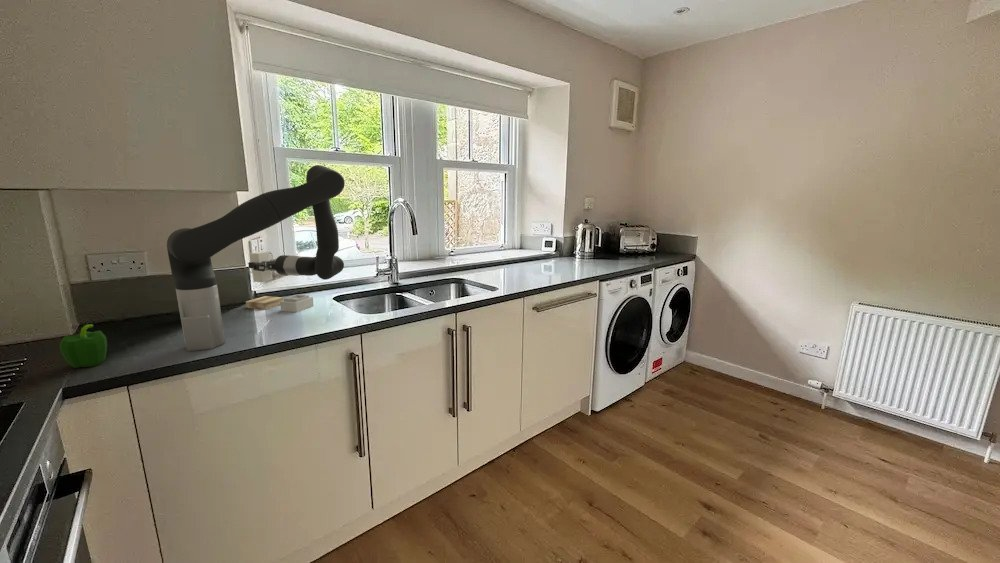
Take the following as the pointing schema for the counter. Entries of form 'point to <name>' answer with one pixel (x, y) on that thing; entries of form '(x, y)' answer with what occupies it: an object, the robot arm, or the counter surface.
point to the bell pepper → (84, 348)
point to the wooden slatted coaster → (264, 302)
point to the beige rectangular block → (296, 303)
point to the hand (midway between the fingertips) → (255, 263)
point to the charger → (261, 275)
